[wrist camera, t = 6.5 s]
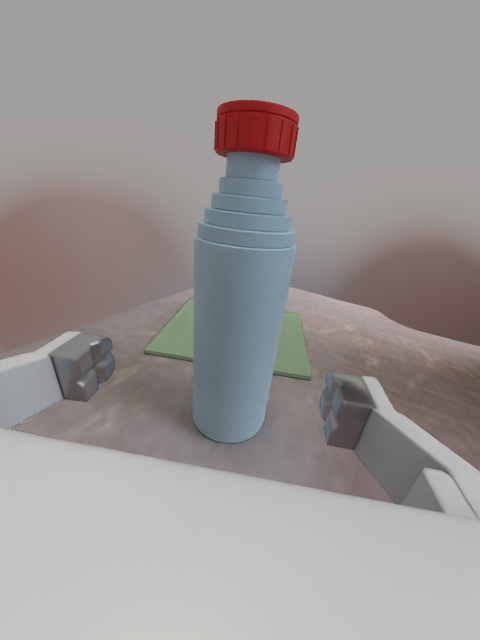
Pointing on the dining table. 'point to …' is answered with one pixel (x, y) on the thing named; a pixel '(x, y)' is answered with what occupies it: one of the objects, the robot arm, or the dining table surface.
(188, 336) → the mat
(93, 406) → the dining table surface
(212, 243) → the bottle
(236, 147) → the cap
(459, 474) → the robot arm
